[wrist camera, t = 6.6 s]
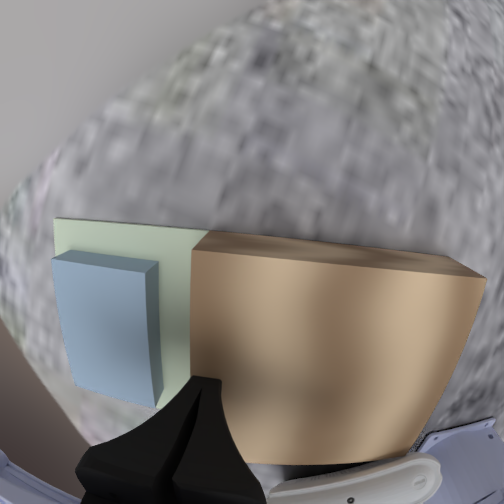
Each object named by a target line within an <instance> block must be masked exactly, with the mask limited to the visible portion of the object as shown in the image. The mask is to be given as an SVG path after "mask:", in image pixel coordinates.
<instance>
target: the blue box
mask: <svg viewBox="0 0 504 504" xmlns="http://www.w3.org/2000/svg"><path fill="white" fill-rule="evenodd" d="M51 261H52V271H53V280H54V287H55V295H56V301H57V308H58V313H59V319H60V324H61V329H62V334H63V339H64V344H65V348H66V352H67V356H68V360H69V364H70V368H71V372H72V376H73V379H74V383H75V386H78V387H81V388H84V389H87V390H90V391H93V392H96V393H100V394H103V395H106V396H110V397H113V398H117V399H120V400H124V401H127V402H131V403H135V404H139V405H143V406H147V407H152V408H156V406H157V403H158V401H159V399H160V397H161V394H162V392H163V390H164V385H163V374H162V360H161V344H160V322H159V261H153V260H145V259H137V258H129V257H121V256H114V255H106V254H99V253H91V252H84V251H77V250H69V251H66V252H64V253H62V254H60V255H58V256H56V257H54V258H52V259H51Z"/></svg>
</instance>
